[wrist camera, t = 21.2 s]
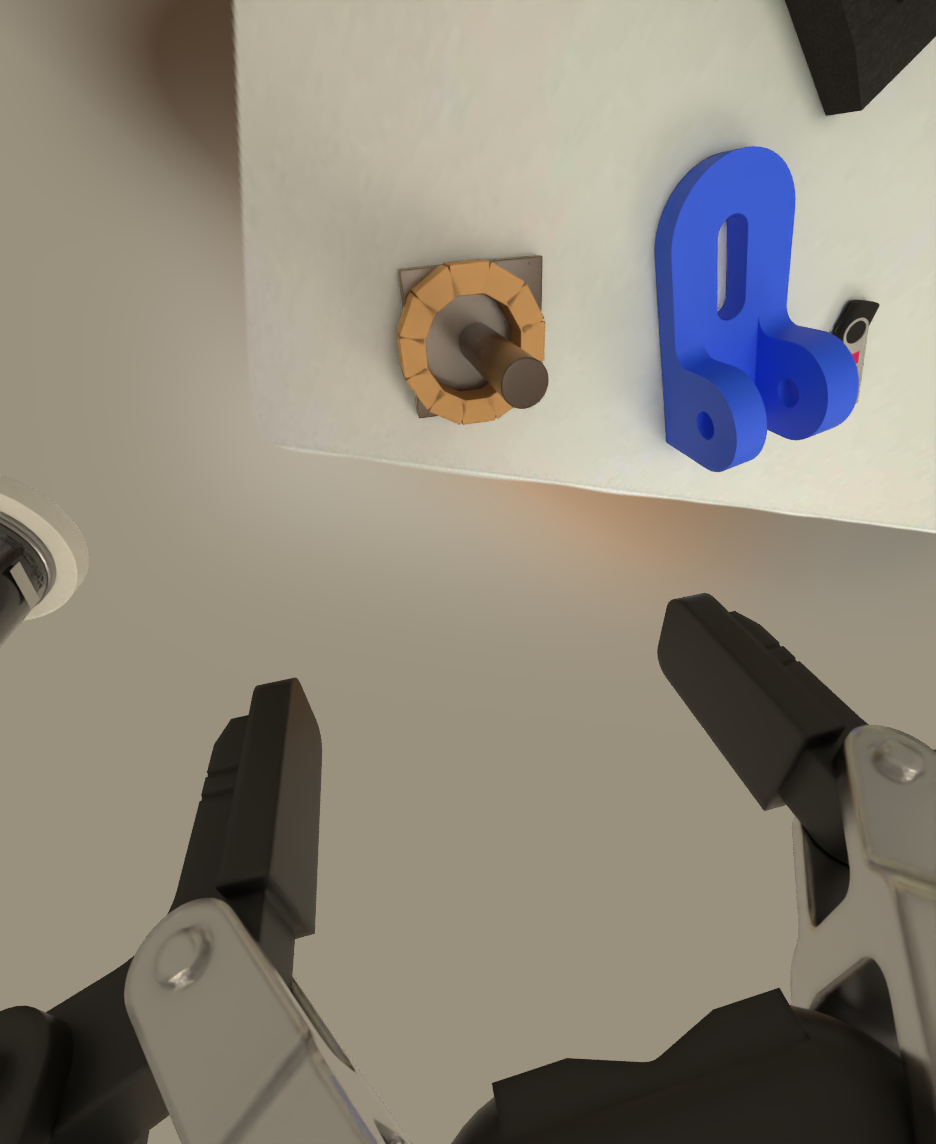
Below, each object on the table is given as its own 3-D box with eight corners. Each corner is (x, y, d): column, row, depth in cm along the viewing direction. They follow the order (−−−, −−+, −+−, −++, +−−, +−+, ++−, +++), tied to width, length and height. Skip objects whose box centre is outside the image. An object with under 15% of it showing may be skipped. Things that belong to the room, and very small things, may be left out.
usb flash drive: (848, 298, 36) (860, 299, 35) (901, 306, 37) (913, 308, 37) (791, 412, 41) (800, 415, 40) (839, 416, 42) (849, 420, 41)
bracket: (759, 405, 40) (848, 442, 33) (666, 442, 40) (735, 487, 33) (776, 128, 29) (915, 94, 22) (650, 181, 29) (746, 164, 22)
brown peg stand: (417, 413, 35) (443, 483, 25) (397, 268, 30) (420, 285, 20) (535, 397, 36) (603, 458, 26) (536, 254, 31) (623, 264, 21)
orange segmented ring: (408, 421, 34) (412, 432, 32) (386, 268, 28) (388, 271, 26) (532, 403, 35) (543, 413, 33) (533, 253, 29) (546, 255, 28)
